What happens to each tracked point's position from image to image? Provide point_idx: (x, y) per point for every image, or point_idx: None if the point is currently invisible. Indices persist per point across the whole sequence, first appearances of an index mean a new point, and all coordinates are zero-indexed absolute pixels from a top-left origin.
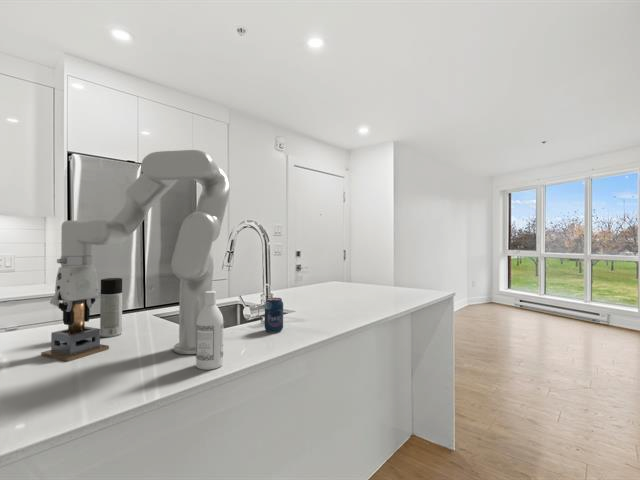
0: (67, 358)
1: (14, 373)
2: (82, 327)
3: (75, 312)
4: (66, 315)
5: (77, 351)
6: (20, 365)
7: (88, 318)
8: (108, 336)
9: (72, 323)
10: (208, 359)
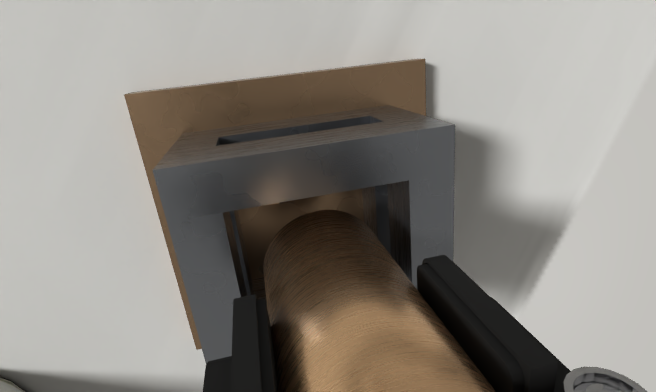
0: (424, 60)
1: (603, 108)
2: (310, 239)
3: (465, 363)
4: (543, 347)
5: (348, 111)
6: (530, 209)
7: (240, 313)
8: (7, 383)
9: (432, 259)
10: None
